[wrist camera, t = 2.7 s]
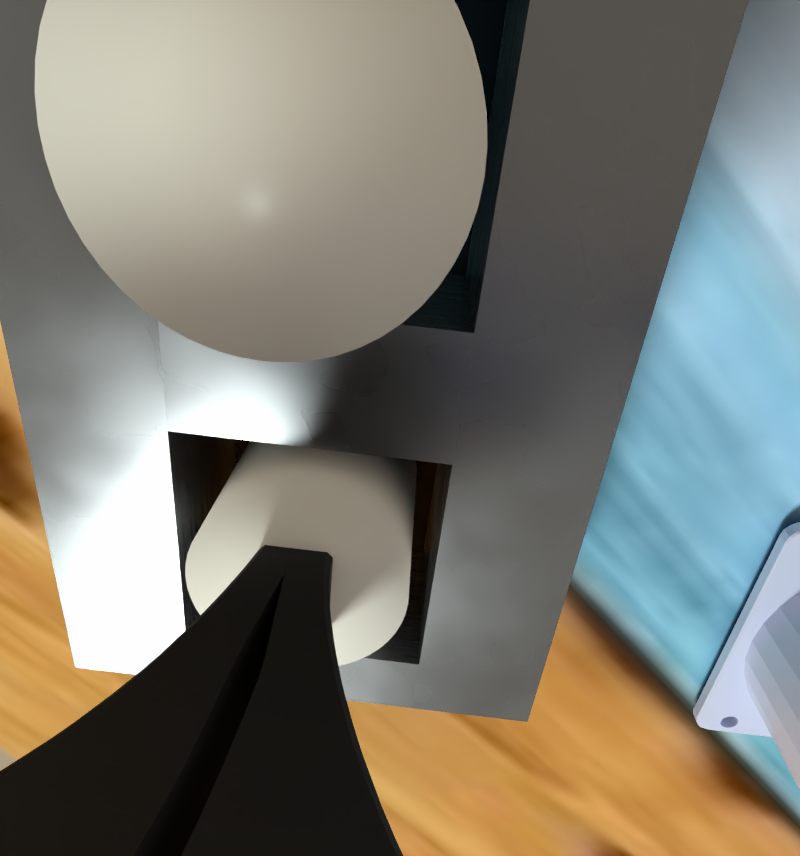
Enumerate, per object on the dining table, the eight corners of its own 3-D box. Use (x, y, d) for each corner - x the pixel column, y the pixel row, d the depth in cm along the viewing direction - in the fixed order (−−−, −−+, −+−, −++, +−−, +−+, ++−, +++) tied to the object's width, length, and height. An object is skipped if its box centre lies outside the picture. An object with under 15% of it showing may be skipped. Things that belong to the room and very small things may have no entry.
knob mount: (919, -1031, 7) (1450, -2293, 3) (510, 602, 18) (527, 721, 15) (-62, -1135, 7) (-604, -2483, 3) (146, 558, 18) (75, 667, 15)
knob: (426, 403, 15) (421, 511, 11) (407, 545, 17) (397, 679, 13) (247, 382, 15) (177, 482, 11) (250, 526, 17) (191, 655, 13)
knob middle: (489, -14, 9) (530, -115, 5) (447, 283, 11) (452, 383, 7) (191, -49, 9) (-11, -177, 5) (205, 255, 11) (72, 339, 7)
